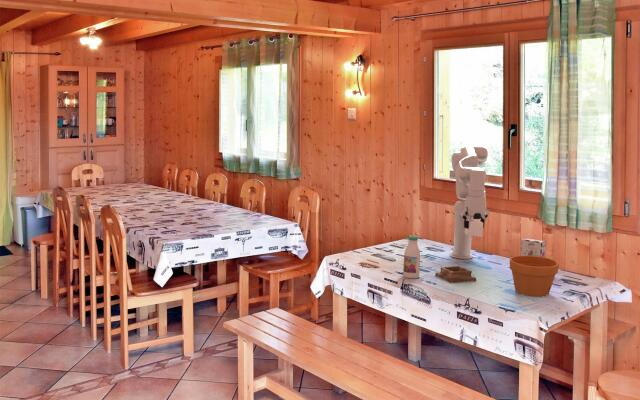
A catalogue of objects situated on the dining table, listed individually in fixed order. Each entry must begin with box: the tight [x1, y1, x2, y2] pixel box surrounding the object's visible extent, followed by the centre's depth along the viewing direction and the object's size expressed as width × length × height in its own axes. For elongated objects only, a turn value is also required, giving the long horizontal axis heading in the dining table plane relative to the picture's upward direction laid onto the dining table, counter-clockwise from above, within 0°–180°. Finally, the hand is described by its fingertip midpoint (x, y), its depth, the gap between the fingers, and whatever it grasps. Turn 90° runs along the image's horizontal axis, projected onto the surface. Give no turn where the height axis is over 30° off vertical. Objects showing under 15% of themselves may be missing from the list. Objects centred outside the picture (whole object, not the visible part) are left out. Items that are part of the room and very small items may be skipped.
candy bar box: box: [520, 237, 547, 258], centre depth 329 cm, size 11×5×16 cm, turn 47°
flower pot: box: [509, 255, 560, 298], centre depth 289 cm, size 21×21×15 cm
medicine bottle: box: [465, 213, 484, 238], centre depth 324 cm, size 7×7×12 cm
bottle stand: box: [434, 265, 477, 284], centre depth 311 cm, size 14×14×4 cm
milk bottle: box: [402, 235, 421, 279], centre depth 310 cm, size 8×8×20 cm
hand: (474, 227), depth 325 cm, fingers closed on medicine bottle, 8 cm apart
